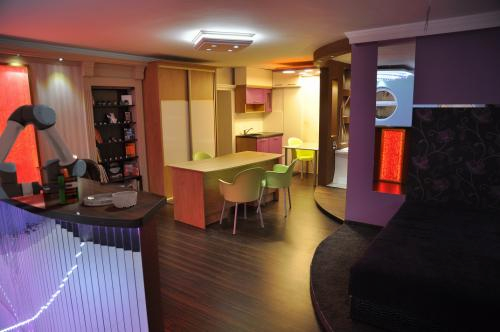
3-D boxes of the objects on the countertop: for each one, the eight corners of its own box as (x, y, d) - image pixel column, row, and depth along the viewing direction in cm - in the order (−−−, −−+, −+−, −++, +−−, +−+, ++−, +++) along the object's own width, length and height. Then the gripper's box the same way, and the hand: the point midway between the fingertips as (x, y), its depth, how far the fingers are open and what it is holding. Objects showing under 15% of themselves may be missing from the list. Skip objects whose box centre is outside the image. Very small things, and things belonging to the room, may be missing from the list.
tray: (80, 201, 205) (80, 196, 205) (114, 196, 217) (114, 192, 217) (88, 208, 189) (87, 203, 189) (124, 202, 201) (124, 197, 201)
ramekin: (111, 209, 186) (110, 197, 185) (114, 203, 198) (113, 192, 197) (137, 207, 189) (136, 195, 188) (138, 201, 202) (137, 190, 201)
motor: (69, 204, 196) (66, 169, 194) (56, 204, 198) (52, 170, 196) (81, 200, 206) (78, 167, 204) (68, 200, 208) (65, 168, 206)
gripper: (30, 192, 198) (74, 186, 212) (34, 198, 183) (80, 192, 196) (29, 179, 197) (73, 175, 211) (32, 184, 182) (79, 179, 195)
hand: (76, 183), depth 204 cm, fingers closed on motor, 7 cm apart
